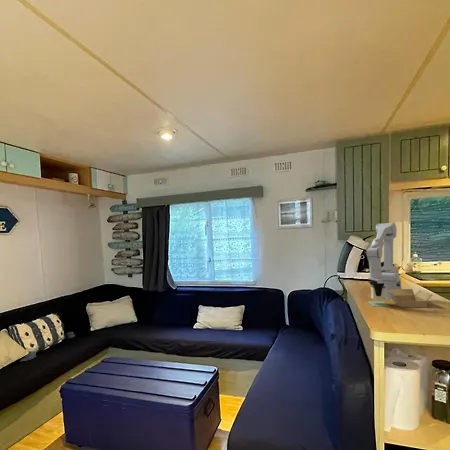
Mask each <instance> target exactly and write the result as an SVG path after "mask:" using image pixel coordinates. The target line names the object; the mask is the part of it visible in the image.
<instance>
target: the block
mask: <svg viewBox="0 0 450 450" xmlns="http://www.w3.org/2000/svg"><path fill="white" fill-rule="evenodd" d="M370 295H371V296H370V297H371V299H372V300H378V301H383V300H384V301H385V300H387V299H386V289H385V286H383V288H382V293H381V296H376V293H375V289H374V286H373V285H371V284H370Z"/></svg>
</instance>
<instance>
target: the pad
mask: <svg viewBox="0 0 450 450" xmlns="http://www.w3.org/2000/svg"><path fill="white" fill-rule="evenodd" d="M367 303H368V304H370V305H371V306H372V307H391V306H390V305H389V304H387V303H386V302H385V301H383V300H378V301H377V300H374V301H373V300H368V301H367Z"/></svg>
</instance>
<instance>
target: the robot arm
mask: <svg viewBox="0 0 450 450" xmlns="http://www.w3.org/2000/svg"><path fill="white" fill-rule="evenodd" d="M375 232H376V238H373V240H372V242H371V244H370V247H368V248H367V249H366V257H367V261H368V265H369V266H368V267H369V268H368V269H369V277H367V280H369V281H368V283H369V284H370V286H371V285H373V286H374V289H375V293H376V296H381V293H382V288H383V286H385V289H386V291H387V292H389V289H397V285H396V283H398V282H399V278H400V273H399V269H397V268H396V267H395V266H394V239H395V238H396V237H397V225H396V223H395V222H387V223H386V222H385V223H376V225H375ZM382 256H383V266H382V261H381V259H382ZM387 292H386V300H391V296H390V295H389V294H388V293H387Z"/></svg>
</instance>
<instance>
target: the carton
mask: <svg viewBox="0 0 450 450" xmlns="http://www.w3.org/2000/svg"><path fill="white" fill-rule="evenodd" d="M386 292H387V291H386ZM414 292H415V291H414V290H413V288H401V289H389V292H387V293H388V294H389V295H390V296H391V299H390V302H391V303H393V304H394V305H396V306H398V307H399V308H428V303H427V302H428V301H429V300H430V298H431V297H433V294H432V293H428V292H426V291H423V290H421V289H418V291H417V292H416V293H414Z"/></svg>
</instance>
